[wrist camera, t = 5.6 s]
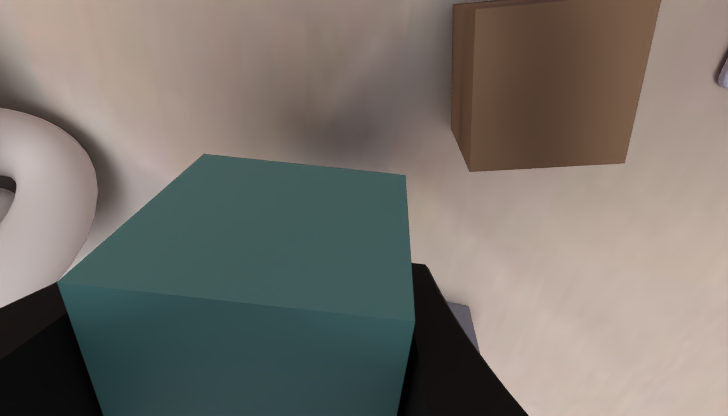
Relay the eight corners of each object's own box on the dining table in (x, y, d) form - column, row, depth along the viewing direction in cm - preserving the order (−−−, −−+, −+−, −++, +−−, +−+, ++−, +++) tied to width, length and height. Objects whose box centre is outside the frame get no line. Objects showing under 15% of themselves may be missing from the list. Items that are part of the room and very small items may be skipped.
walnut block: (586, -9, 15) (662, -8, 11) (566, 120, 18) (624, 163, 13) (452, 4, 16) (475, 9, 12) (451, 128, 18) (469, 171, 14)
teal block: (405, 175, 10) (415, 321, 6) (383, 325, 12) (377, 510, 8) (204, 154, 10) (56, 282, 6) (220, 307, 12) (126, 481, 8)
